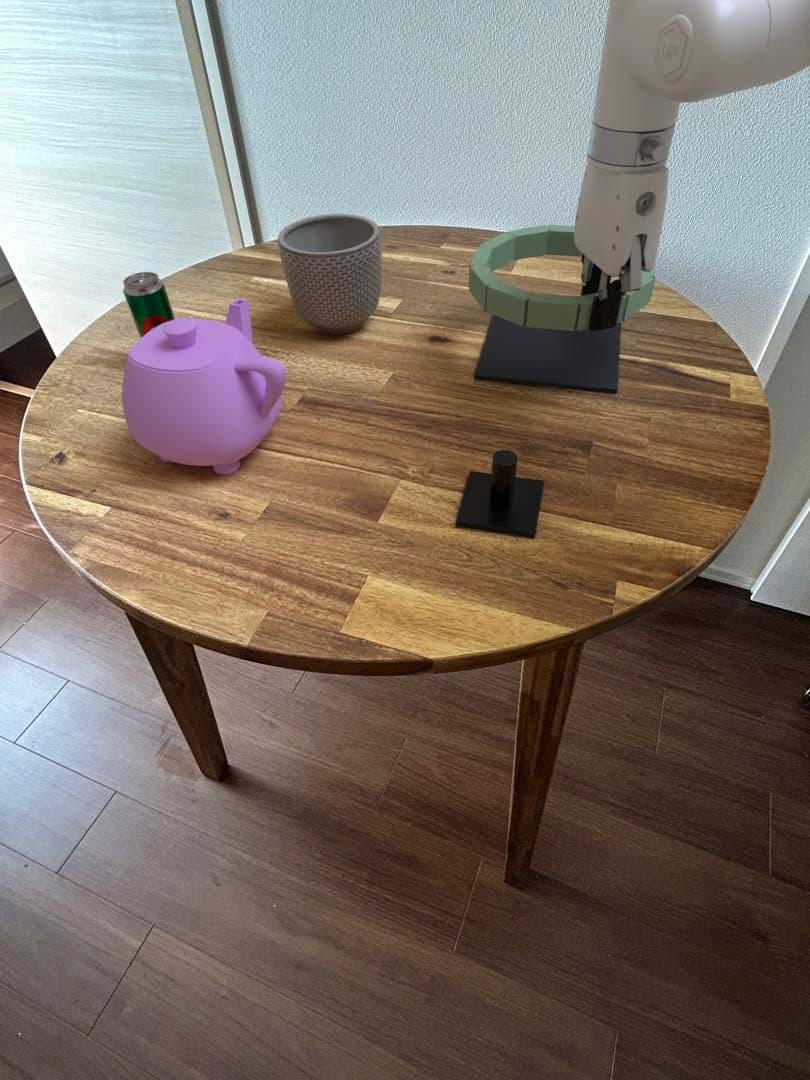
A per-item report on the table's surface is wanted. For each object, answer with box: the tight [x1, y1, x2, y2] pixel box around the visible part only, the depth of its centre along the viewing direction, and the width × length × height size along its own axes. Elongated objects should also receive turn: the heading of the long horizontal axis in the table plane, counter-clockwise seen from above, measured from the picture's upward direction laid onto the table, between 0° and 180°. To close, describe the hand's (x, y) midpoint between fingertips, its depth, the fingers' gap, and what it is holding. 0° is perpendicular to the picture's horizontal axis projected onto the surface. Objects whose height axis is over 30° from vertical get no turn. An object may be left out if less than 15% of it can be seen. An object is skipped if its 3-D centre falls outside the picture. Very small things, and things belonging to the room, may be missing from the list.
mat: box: [473, 315, 622, 394], centre depth 88 cm, size 18×18×1 cm
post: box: [455, 449, 545, 539], centre depth 65 cm, size 8×8×6 cm
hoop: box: [468, 224, 657, 331], centre depth 81 cm, size 22×22×3 cm
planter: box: [277, 213, 383, 335], centre depth 91 cm, size 14×14×13 cm
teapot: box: [121, 297, 287, 475], centre depth 73 cm, size 20×20×15 cm
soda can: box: [122, 271, 176, 339], centre depth 86 cm, size 5×5×12 cm
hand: (596, 321), depth 75 cm, fingers closed on hoop, 2 cm apart
